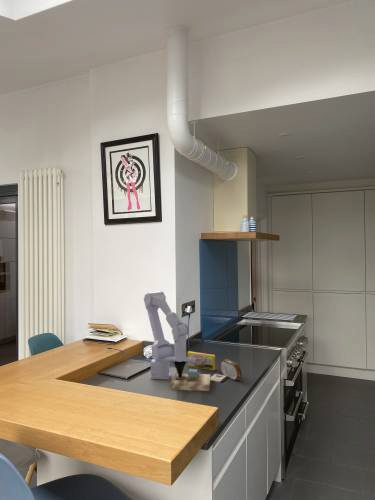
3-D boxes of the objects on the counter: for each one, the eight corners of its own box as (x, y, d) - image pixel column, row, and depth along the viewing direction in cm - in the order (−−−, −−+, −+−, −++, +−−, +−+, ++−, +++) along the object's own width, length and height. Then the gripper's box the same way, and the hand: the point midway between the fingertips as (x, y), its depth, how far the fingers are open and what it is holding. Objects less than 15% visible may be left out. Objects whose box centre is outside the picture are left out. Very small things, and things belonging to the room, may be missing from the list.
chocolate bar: (235, 371, 200) (222, 381, 184) (235, 372, 200) (222, 383, 184) (219, 368, 204) (205, 378, 188) (219, 370, 204) (205, 380, 188)
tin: (242, 381, 185) (242, 364, 185) (237, 382, 184) (236, 365, 184) (224, 372, 198) (224, 357, 198) (219, 373, 197) (219, 358, 197)
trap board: (170, 389, 175) (170, 380, 175) (175, 379, 189) (175, 370, 189) (209, 390, 173) (209, 381, 173) (210, 380, 187) (210, 371, 187)
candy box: (187, 366, 209) (187, 351, 209) (189, 365, 211) (189, 351, 211) (213, 370, 202) (213, 355, 202) (215, 369, 204) (215, 354, 204)
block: (188, 380, 179) (188, 371, 179) (189, 377, 183) (189, 369, 183) (196, 380, 179) (196, 371, 179) (197, 377, 183) (197, 369, 183)
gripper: (164, 350, 178) (164, 379, 178) (194, 351, 177) (194, 380, 177) (166, 347, 185) (166, 374, 185) (195, 347, 184) (195, 375, 184)
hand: (180, 376), depth 182 cm, fingers closed
